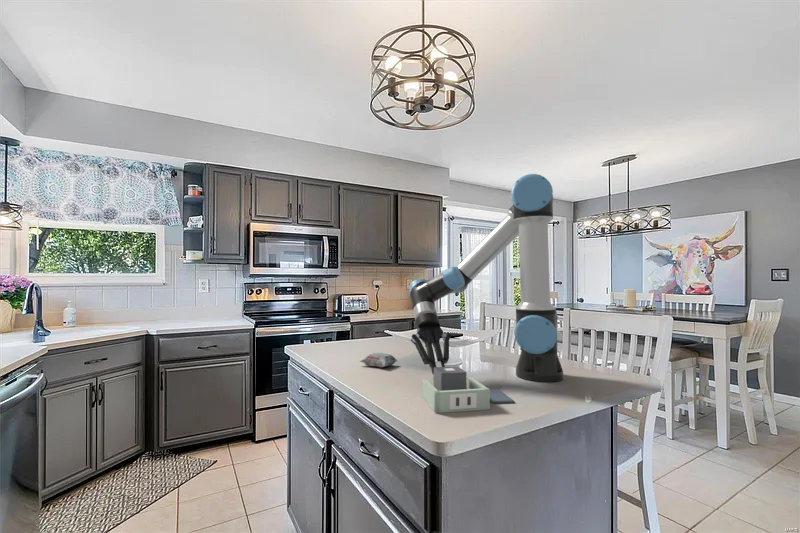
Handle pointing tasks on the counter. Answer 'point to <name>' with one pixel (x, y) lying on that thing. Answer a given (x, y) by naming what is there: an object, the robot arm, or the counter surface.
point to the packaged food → (379, 360)
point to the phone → (499, 397)
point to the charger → (449, 378)
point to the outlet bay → (457, 397)
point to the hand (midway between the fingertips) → (441, 383)
